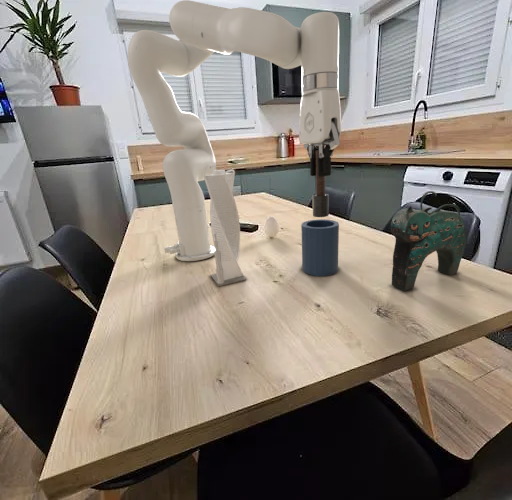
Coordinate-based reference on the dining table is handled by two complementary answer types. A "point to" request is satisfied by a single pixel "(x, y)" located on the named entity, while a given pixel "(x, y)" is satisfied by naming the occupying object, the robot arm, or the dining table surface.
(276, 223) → the egg
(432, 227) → the ceramic cat
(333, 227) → the blue pipe segment
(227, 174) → the skyscraper
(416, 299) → the dining table surface
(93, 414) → the dining table surface
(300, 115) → the robot arm
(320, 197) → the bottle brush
